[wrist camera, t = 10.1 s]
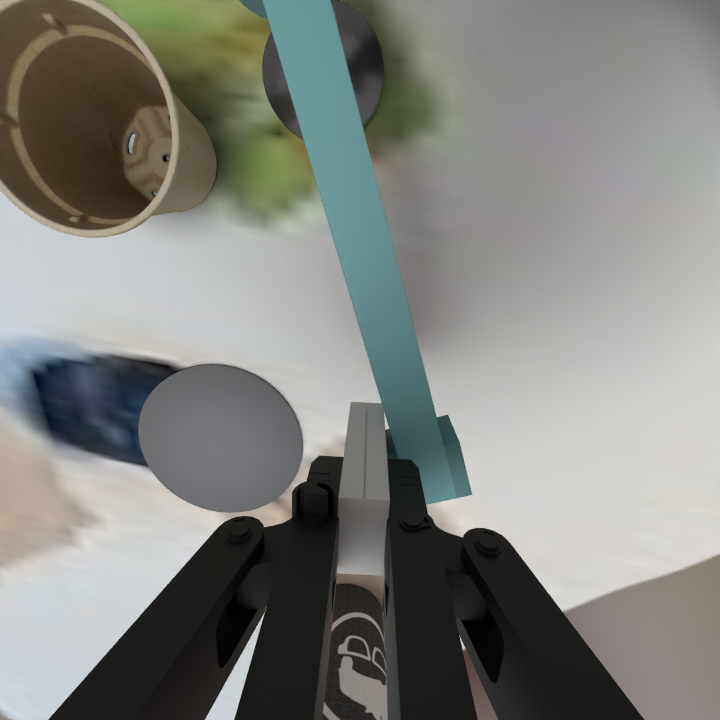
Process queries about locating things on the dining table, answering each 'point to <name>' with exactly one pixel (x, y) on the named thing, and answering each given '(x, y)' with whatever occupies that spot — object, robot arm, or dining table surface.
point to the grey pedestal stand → (360, 62)
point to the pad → (220, 438)
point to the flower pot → (92, 122)
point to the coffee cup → (356, 658)
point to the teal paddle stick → (363, 238)
